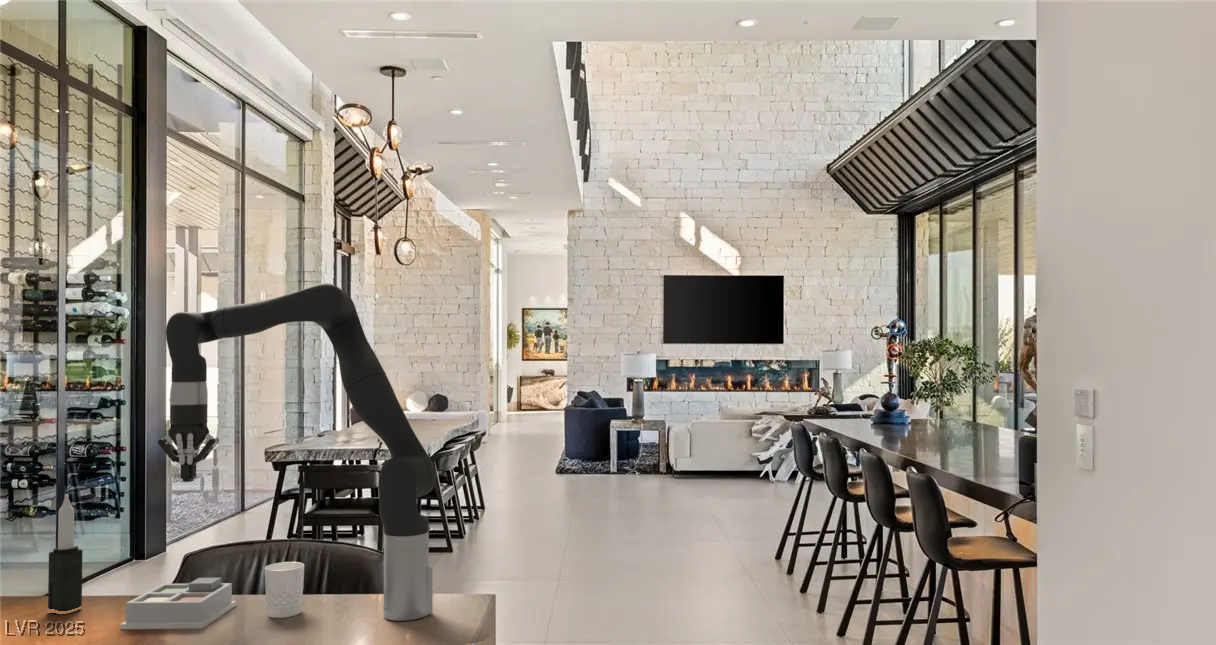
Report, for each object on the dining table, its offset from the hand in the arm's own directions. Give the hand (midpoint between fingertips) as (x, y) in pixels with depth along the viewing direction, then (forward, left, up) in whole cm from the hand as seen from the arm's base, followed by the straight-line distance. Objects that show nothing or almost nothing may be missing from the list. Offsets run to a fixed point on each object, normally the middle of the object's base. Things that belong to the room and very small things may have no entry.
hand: (188, 481), depth 196 cm
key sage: (+4, +4, -26) cm, 26 cm away
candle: (+22, -11, -27) cm, 37 cm away
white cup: (-15, +20, -27) cm, 37 cm away
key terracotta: (+2, +14, -26) cm, 30 cm away
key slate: (-2, +8, -24) cm, 25 cm away
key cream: (+8, +10, -26) cm, 29 cm away
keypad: (+3, +9, -27) cm, 29 cm away
